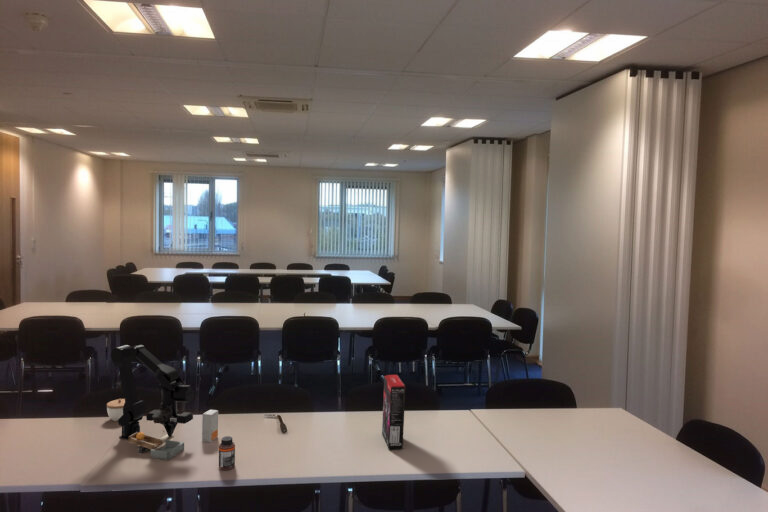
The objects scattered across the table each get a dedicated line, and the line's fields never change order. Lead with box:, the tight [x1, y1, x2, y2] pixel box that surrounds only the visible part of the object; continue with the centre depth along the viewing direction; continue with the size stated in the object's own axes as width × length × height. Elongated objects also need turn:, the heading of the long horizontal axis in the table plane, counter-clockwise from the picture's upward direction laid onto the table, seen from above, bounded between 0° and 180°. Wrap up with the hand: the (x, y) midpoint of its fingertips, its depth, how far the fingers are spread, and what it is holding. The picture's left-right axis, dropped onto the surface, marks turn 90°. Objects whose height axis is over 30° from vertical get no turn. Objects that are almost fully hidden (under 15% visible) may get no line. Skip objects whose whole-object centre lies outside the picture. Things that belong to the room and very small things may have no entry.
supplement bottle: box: [218, 435, 236, 471], centre depth 195 cm, size 6×6×11 cm
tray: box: [150, 439, 185, 461], centre depth 205 cm, size 8×10×3 cm
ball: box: [136, 431, 146, 440], centre depth 208 cm, size 3×3×3 cm
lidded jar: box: [106, 398, 125, 422], centre depth 241 cm, size 11×11×9 cm
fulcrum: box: [137, 446, 150, 455], centre depth 208 cm, size 2×6×2 cm, turn 167°
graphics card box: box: [381, 374, 406, 450], centre depth 222 cm, size 17×7×27 cm, turn 10°
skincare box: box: [201, 409, 219, 443], centre depth 220 cm, size 6×4×12 cm
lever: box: [127, 432, 175, 450], centre depth 212 cm, size 12×13×2 cm
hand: (170, 436), depth 215 cm, fingers closed, pressing on lever
